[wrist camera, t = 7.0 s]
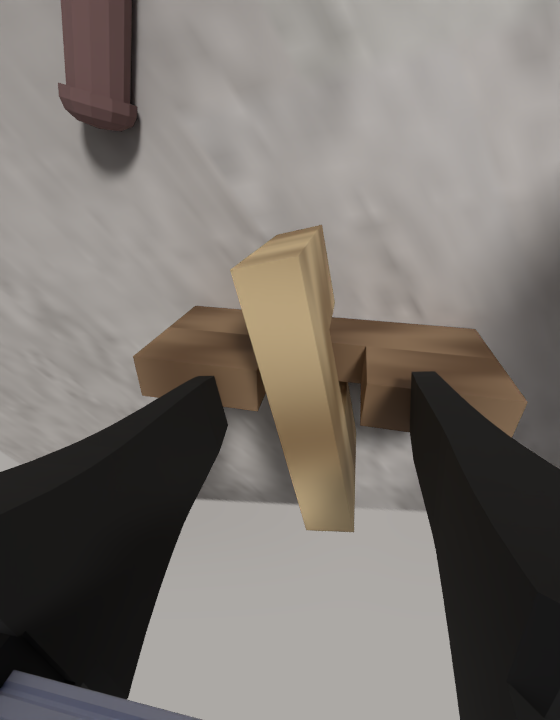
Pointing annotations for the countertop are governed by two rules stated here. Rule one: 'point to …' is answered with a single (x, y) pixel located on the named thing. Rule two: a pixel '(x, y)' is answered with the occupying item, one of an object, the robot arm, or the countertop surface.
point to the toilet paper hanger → (98, 62)
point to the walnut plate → (353, 364)
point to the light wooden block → (302, 371)
